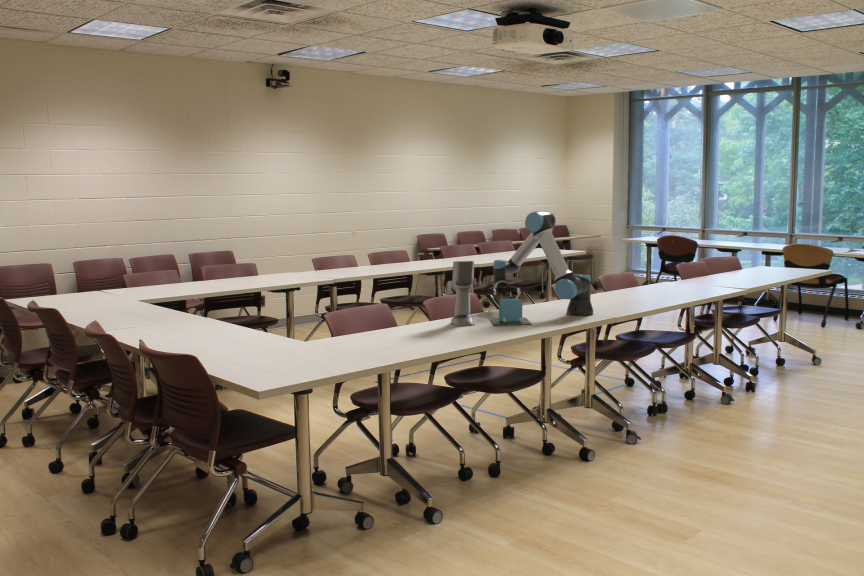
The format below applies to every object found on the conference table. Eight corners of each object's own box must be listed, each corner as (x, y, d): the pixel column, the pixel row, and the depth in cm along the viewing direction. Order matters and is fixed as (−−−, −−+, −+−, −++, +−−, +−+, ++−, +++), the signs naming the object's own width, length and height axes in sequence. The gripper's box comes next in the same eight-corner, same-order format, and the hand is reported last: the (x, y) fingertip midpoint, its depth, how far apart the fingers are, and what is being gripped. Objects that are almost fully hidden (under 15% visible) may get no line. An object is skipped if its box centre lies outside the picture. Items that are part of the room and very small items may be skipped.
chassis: (526, 319, 408) (526, 312, 408) (531, 325, 390) (531, 318, 389) (490, 320, 408) (490, 313, 407) (494, 326, 389) (494, 318, 388)
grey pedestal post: (455, 326, 389) (454, 261, 385) (450, 322, 402) (449, 259, 397) (476, 325, 391) (476, 260, 387) (470, 321, 404) (470, 258, 399)
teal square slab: (520, 319, 401) (520, 298, 400) (522, 321, 397) (522, 299, 395) (498, 320, 399) (498, 299, 398) (500, 322, 395) (500, 300, 393)
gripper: (523, 293, 432) (529, 297, 411) (481, 294, 431) (485, 299, 410) (523, 280, 431) (529, 284, 410) (481, 282, 430) (485, 286, 409)
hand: (507, 292), depth 410 cm, fingers open, 13 cm apart
